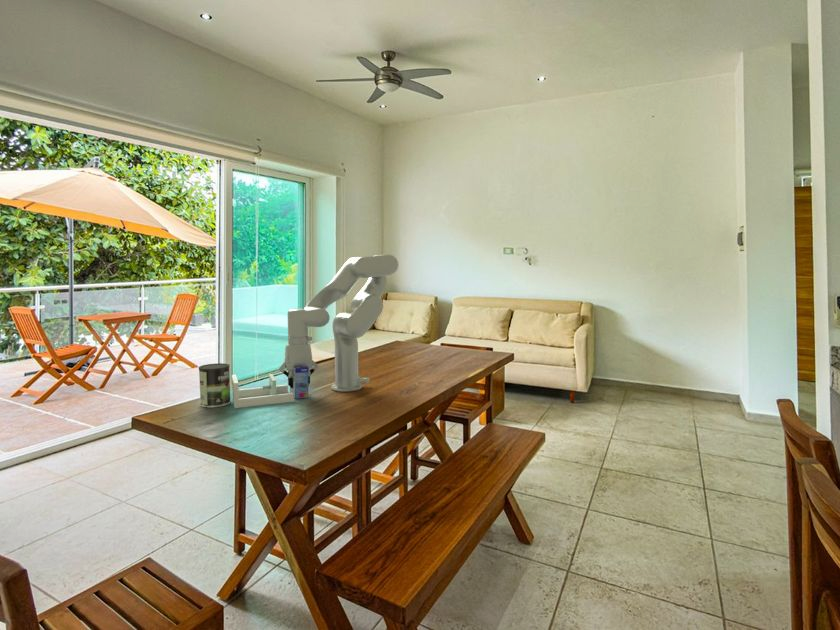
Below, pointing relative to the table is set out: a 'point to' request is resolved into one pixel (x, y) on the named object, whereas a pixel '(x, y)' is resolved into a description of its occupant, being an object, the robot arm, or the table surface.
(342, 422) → the table surface
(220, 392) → the coffee can
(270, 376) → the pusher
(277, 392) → the lane
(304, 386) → the ink cartridge box
